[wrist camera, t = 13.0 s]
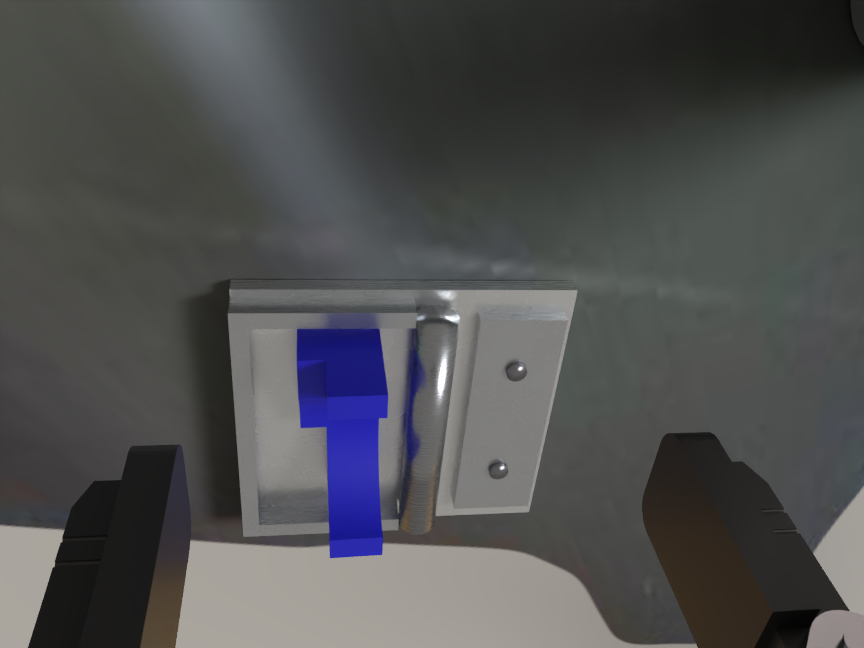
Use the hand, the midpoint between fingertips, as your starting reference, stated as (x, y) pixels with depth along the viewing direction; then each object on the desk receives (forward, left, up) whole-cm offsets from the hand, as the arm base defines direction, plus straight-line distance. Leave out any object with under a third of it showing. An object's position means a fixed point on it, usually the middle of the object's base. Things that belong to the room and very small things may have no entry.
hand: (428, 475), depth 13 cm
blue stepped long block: (0, +22, -27) cm, 35 cm away
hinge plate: (-4, +22, -28) cm, 36 cm away
